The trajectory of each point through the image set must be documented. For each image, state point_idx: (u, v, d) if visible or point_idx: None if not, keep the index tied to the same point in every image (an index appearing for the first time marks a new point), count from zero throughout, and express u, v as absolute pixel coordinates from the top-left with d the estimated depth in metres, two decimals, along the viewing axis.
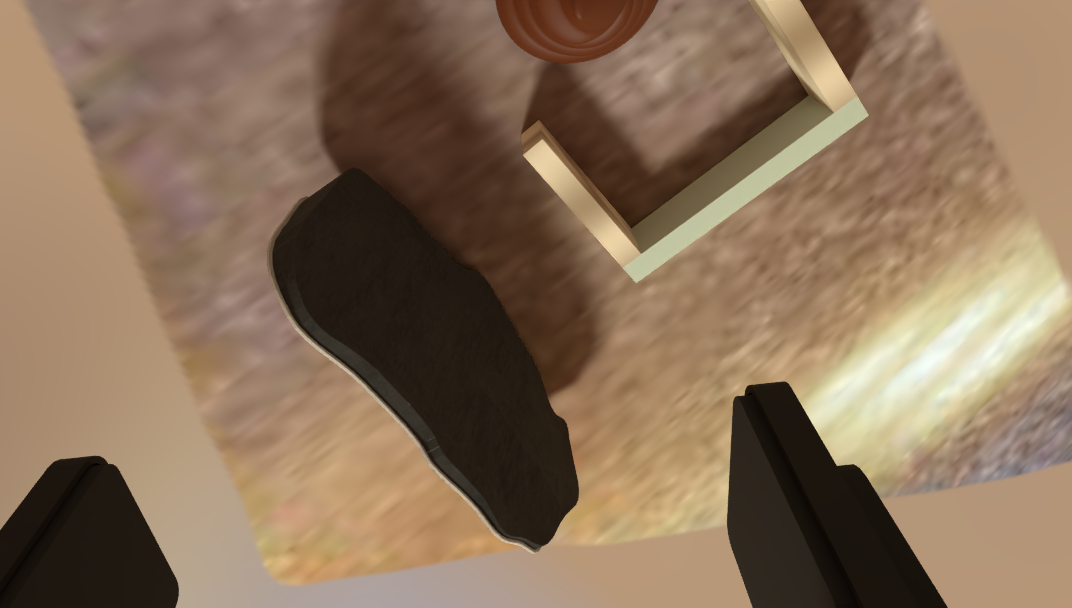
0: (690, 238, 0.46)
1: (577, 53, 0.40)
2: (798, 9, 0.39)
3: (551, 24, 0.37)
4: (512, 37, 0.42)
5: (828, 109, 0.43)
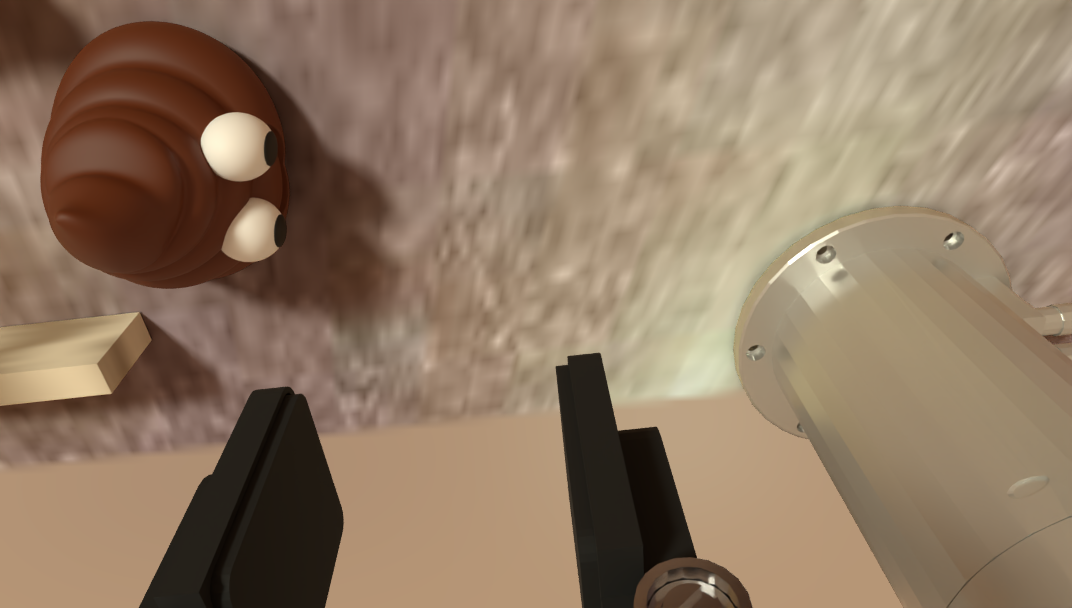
0: None
1: (50, 128, 0.24)
2: (22, 397, 0.29)
3: (92, 138, 0.22)
4: (131, 30, 0.25)
5: None
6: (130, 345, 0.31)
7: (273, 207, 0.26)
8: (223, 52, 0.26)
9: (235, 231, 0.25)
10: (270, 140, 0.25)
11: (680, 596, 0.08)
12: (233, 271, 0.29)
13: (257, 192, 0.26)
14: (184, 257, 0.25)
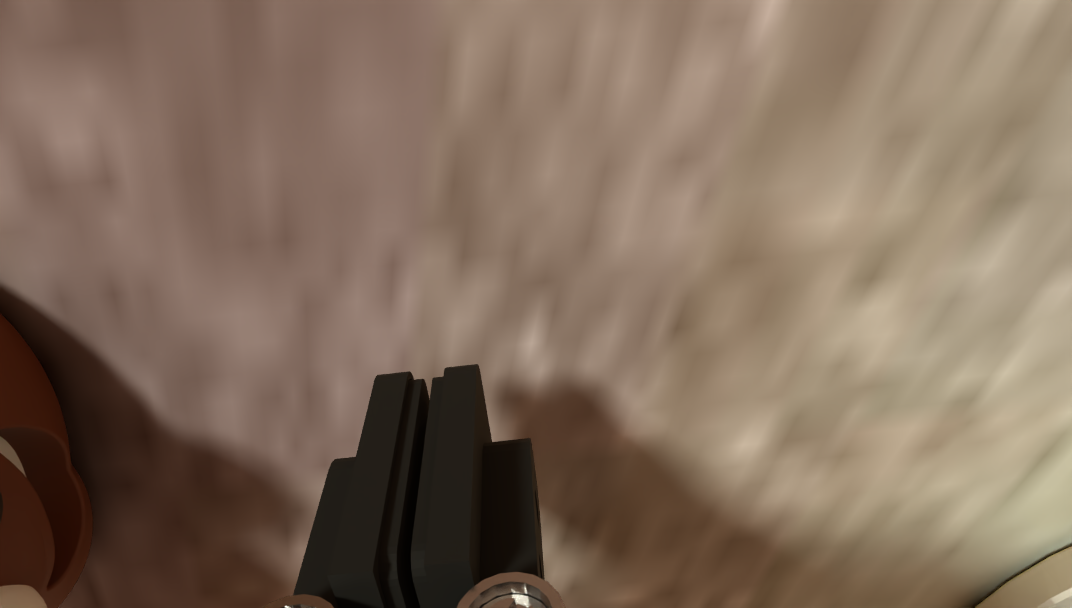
0: None
1: None
2: None
3: None
4: None
5: None
6: None
7: None
8: None
9: None
10: None
11: None
12: None
13: None
14: None
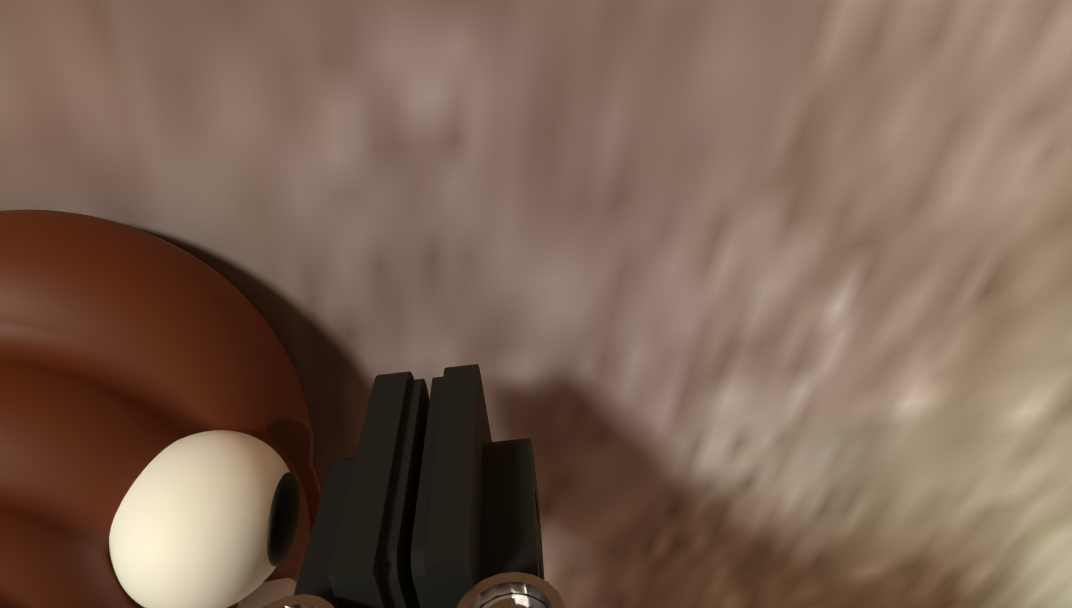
0: None
1: None
2: None
3: None
4: None
5: None
6: None
7: None
8: (170, 277, 0.11)
9: None
10: (282, 511, 0.10)
11: None
12: None
13: None
14: None
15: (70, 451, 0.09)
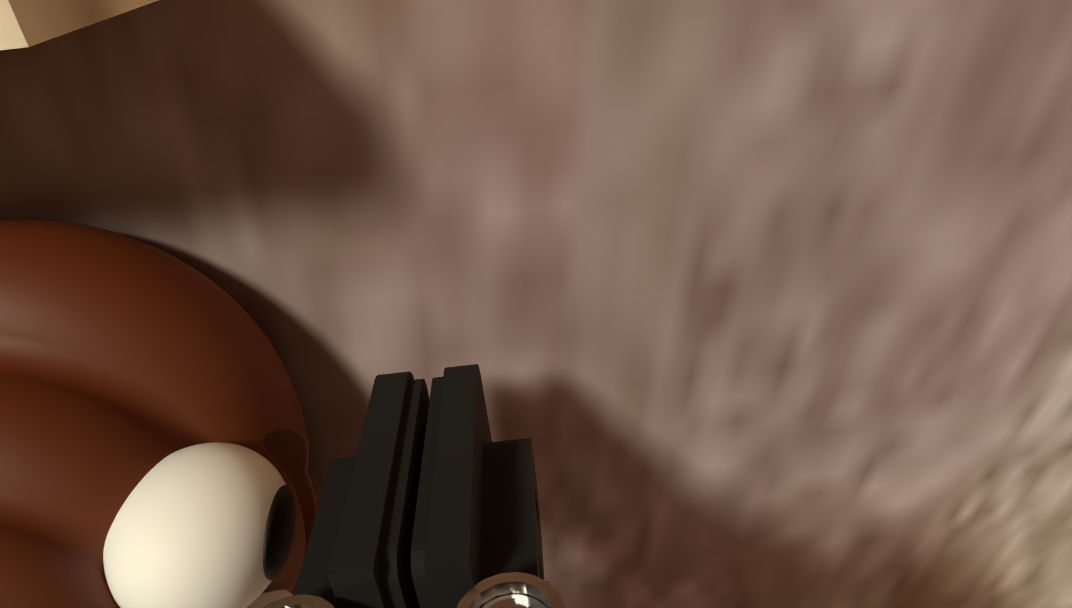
0: None
1: None
2: None
3: None
4: None
5: None
6: None
7: None
8: (165, 287, 0.11)
9: None
10: (278, 525, 0.10)
11: None
12: None
13: None
14: None
15: (64, 465, 0.09)
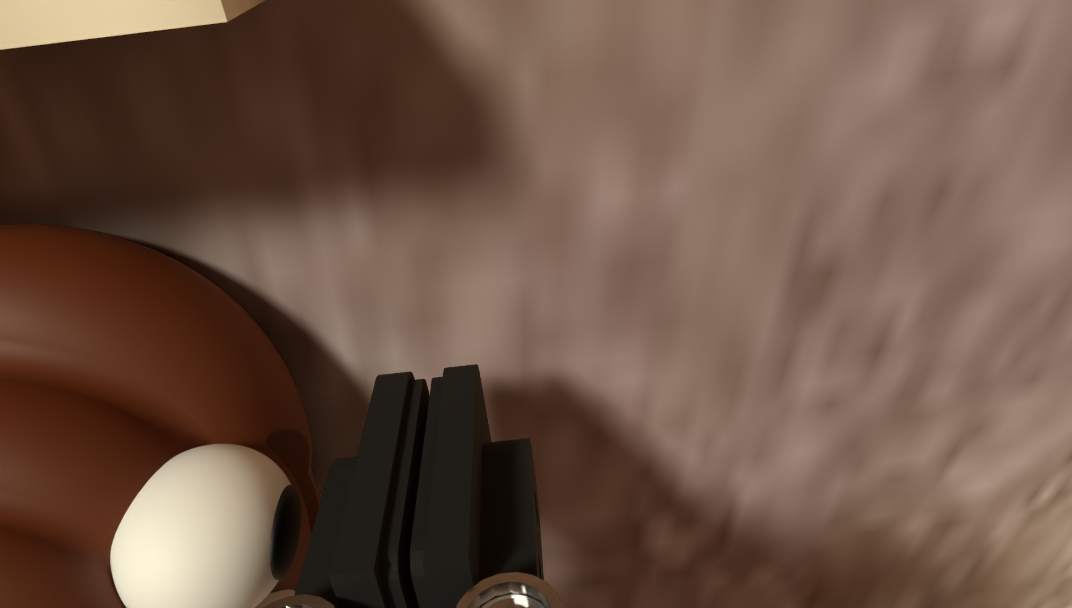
0: None
1: None
2: None
3: None
4: None
5: None
6: None
7: None
8: (166, 290, 0.11)
9: None
10: (285, 525, 0.10)
11: None
12: None
13: None
14: None
15: (69, 469, 0.09)
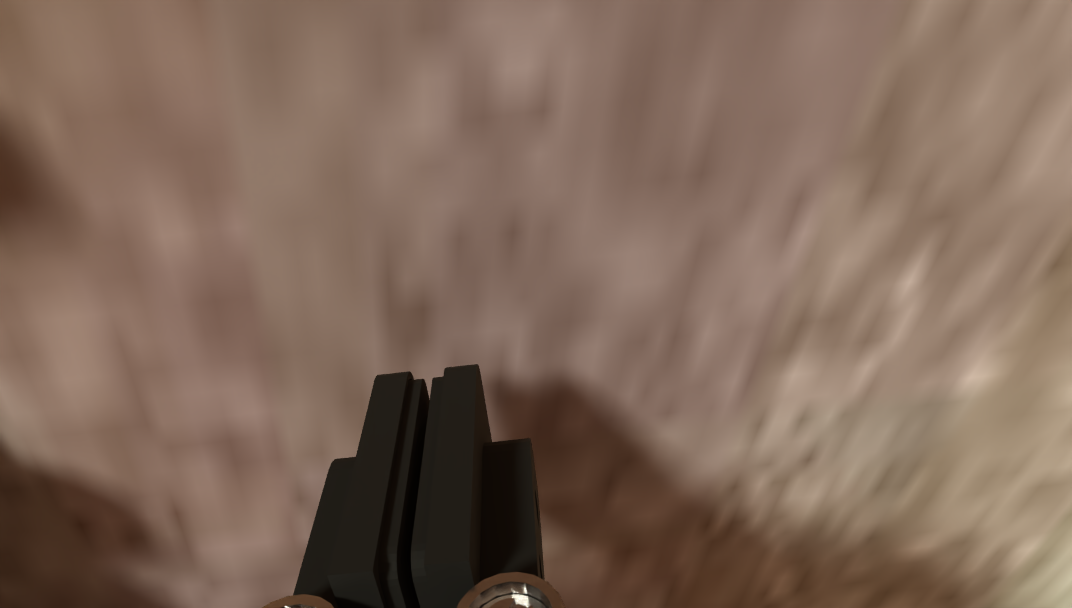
0: None
1: None
2: None
3: None
4: None
5: None
6: None
7: None
8: None
9: None
10: None
11: None
12: None
13: None
14: None
15: None
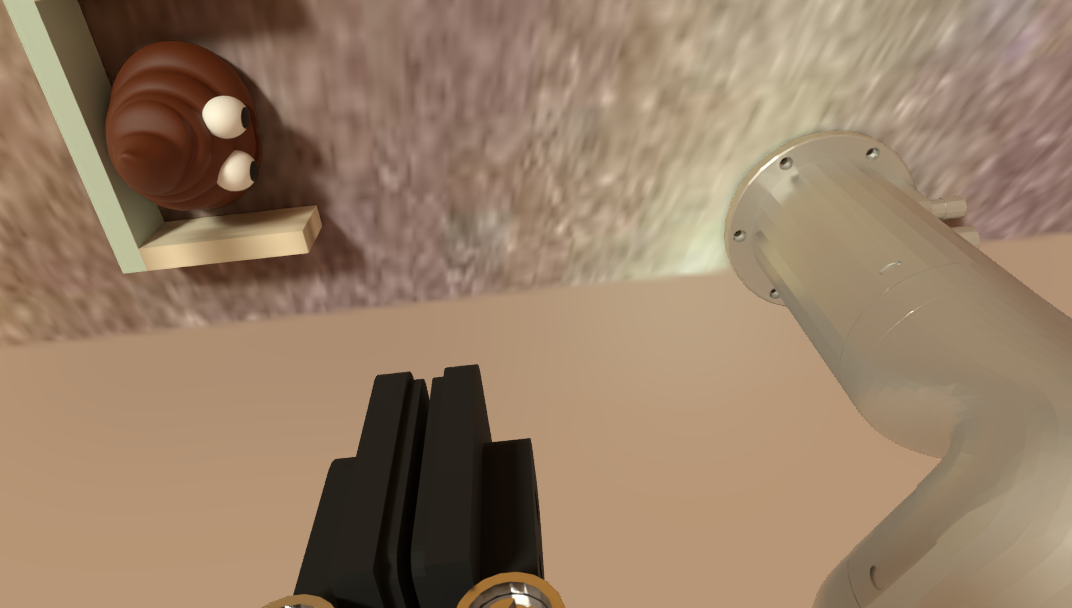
0: (37, 64, 0.38)
1: (110, 108, 0.39)
2: (249, 255, 0.44)
3: (138, 112, 0.37)
4: (158, 47, 0.40)
5: (143, 243, 0.44)
6: (314, 225, 0.46)
7: (249, 156, 0.42)
8: (215, 59, 0.41)
9: (225, 170, 0.40)
10: (245, 112, 0.40)
11: None
12: (226, 202, 0.44)
13: (239, 147, 0.42)
14: (194, 185, 0.40)
15: (193, 91, 0.39)
